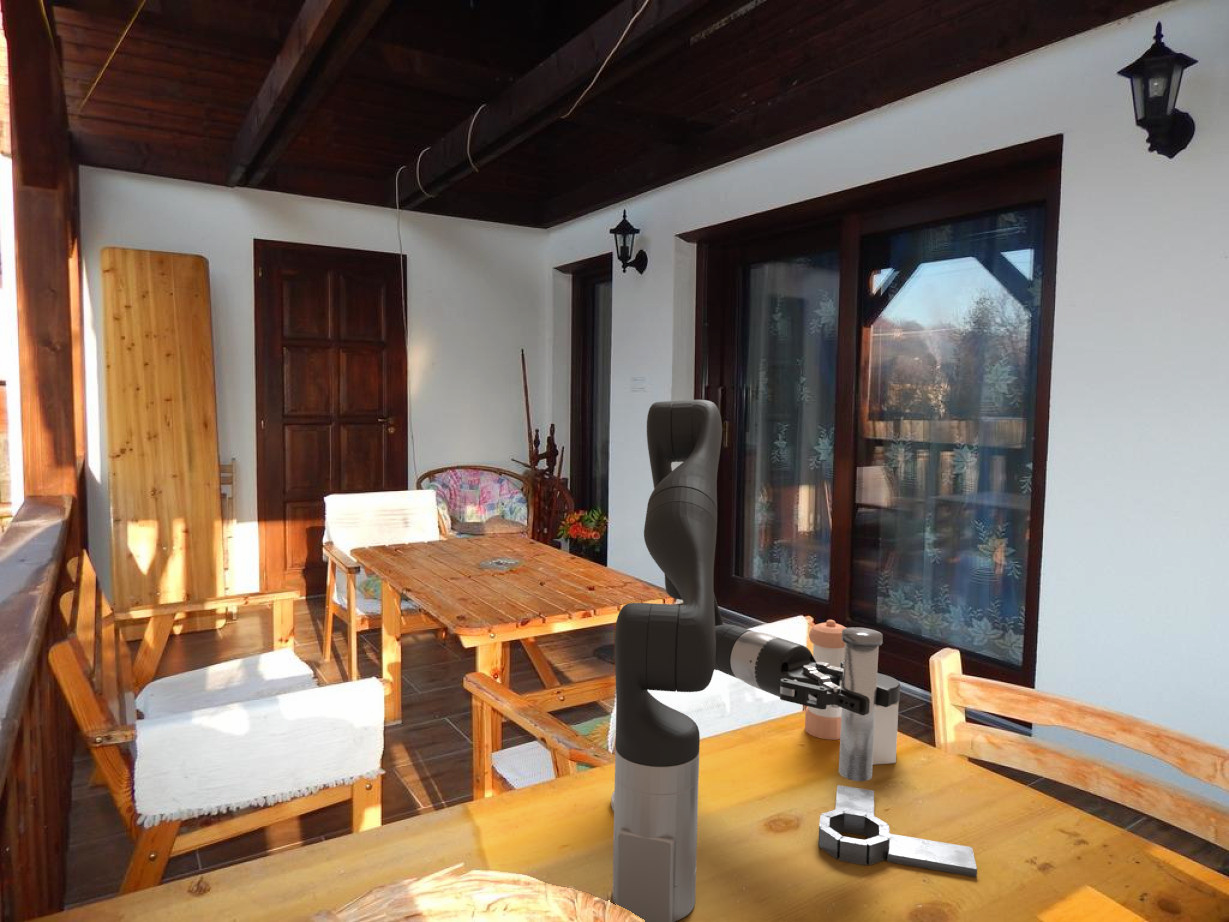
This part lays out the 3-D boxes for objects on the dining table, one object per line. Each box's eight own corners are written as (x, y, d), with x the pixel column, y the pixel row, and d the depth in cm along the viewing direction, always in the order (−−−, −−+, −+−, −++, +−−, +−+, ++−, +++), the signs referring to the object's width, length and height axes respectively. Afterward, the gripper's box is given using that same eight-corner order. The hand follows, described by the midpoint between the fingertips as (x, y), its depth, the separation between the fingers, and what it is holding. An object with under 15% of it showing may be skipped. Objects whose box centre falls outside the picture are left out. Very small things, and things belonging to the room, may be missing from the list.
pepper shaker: (825, 743, 133) (830, 628, 132) (795, 727, 140) (799, 617, 138) (858, 735, 137) (862, 623, 135) (827, 719, 143) (831, 612, 142)
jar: (845, 739, 135) (848, 668, 134) (897, 747, 132) (900, 674, 132) (840, 761, 127) (843, 685, 126) (896, 770, 124) (899, 693, 123)
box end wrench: (978, 885, 94) (979, 864, 94) (817, 856, 100) (817, 837, 100) (961, 810, 112) (962, 793, 112) (824, 789, 117) (825, 773, 117)
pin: (875, 785, 99) (883, 640, 98) (834, 779, 100) (841, 636, 99) (875, 768, 104) (882, 629, 102) (836, 762, 105) (842, 625, 104)
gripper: (736, 646, 108) (844, 684, 94) (806, 629, 117) (914, 662, 103) (734, 701, 108) (841, 747, 95) (803, 680, 117) (911, 719, 104)
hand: (878, 702), depth 99 cm, fingers closed on pin, 4 cm apart
